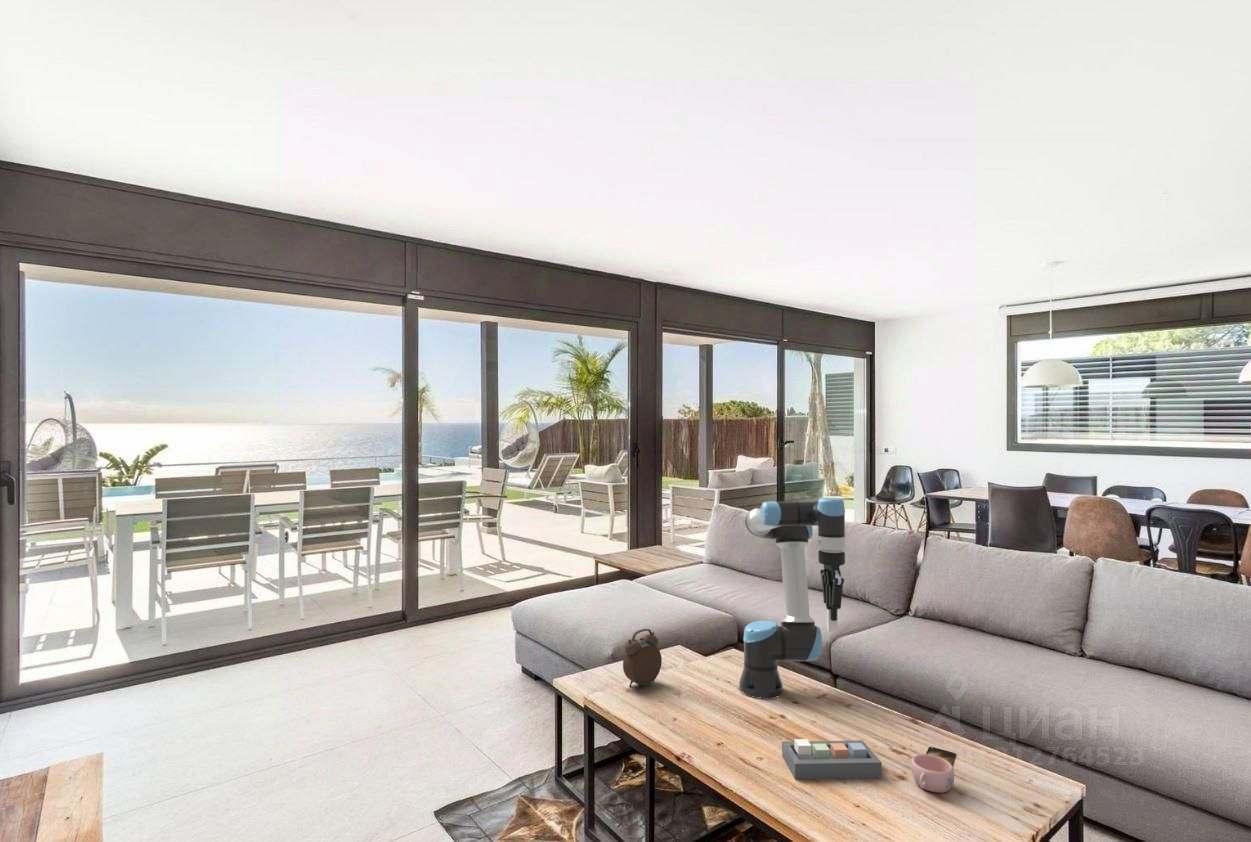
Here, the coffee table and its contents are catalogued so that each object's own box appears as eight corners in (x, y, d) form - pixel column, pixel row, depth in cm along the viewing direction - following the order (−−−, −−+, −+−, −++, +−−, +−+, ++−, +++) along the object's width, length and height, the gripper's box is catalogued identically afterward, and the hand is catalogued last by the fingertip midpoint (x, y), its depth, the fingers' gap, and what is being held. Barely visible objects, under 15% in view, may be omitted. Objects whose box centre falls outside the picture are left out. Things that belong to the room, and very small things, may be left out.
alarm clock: (649, 677, 234) (649, 623, 235) (663, 683, 229) (663, 627, 229) (619, 687, 225) (619, 631, 225) (632, 693, 219) (632, 635, 220)
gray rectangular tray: (782, 756, 176) (782, 741, 176) (862, 754, 177) (862, 740, 177) (795, 779, 164) (794, 763, 164) (881, 777, 165) (881, 762, 165)
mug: (921, 772, 168) (921, 749, 168) (960, 787, 160) (960, 763, 160) (900, 788, 160) (900, 765, 160) (941, 805, 152) (941, 780, 152)
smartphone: (956, 753, 177) (948, 775, 165) (956, 755, 177) (948, 778, 165) (929, 745, 181) (919, 767, 169) (929, 748, 181) (919, 769, 169)
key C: (812, 752, 172) (812, 743, 172) (825, 752, 172) (825, 743, 172) (816, 759, 168) (816, 750, 168) (830, 759, 169) (829, 749, 169)
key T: (830, 752, 172) (830, 743, 172) (843, 752, 172) (843, 743, 172) (835, 758, 169) (835, 749, 169) (848, 758, 169) (848, 749, 169)
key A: (848, 751, 172) (848, 743, 172) (861, 751, 172) (861, 742, 173) (853, 758, 169) (853, 749, 169) (866, 758, 169) (866, 749, 169)
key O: (794, 748, 172) (794, 739, 172) (807, 748, 172) (807, 739, 172) (798, 754, 168) (798, 745, 168) (811, 754, 168) (811, 745, 168)
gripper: (811, 546, 192) (812, 624, 192) (826, 554, 179) (827, 637, 179) (835, 546, 193) (836, 623, 192) (852, 554, 180) (853, 637, 179)
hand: (832, 630), depth 185 cm, fingers closed
